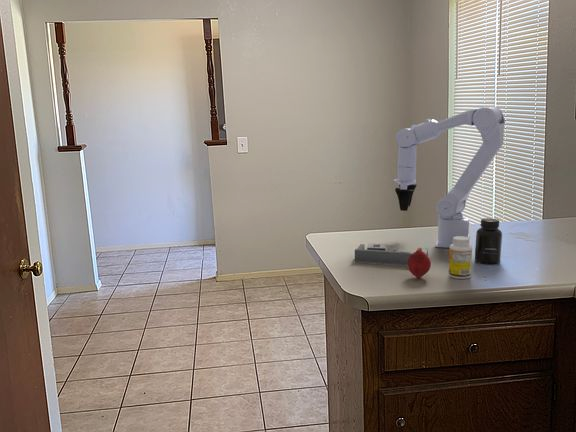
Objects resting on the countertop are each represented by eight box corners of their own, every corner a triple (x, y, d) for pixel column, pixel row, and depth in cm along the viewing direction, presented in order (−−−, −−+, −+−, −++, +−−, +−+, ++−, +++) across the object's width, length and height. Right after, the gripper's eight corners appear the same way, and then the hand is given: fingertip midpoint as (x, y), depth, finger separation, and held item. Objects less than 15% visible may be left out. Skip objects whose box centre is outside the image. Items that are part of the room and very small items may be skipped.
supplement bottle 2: (487, 266, 153) (490, 223, 151) (469, 260, 159) (471, 219, 157) (505, 262, 156) (508, 220, 154) (487, 257, 162) (489, 216, 160)
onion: (430, 282, 141) (431, 251, 140) (407, 280, 142) (407, 250, 141) (429, 275, 147) (430, 245, 145) (407, 274, 148) (407, 244, 146)
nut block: (386, 257, 165) (386, 243, 164) (384, 261, 160) (384, 247, 159) (368, 256, 166) (368, 242, 165) (367, 261, 161) (367, 247, 160)
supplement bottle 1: (454, 271, 149) (455, 234, 147) (474, 275, 145) (476, 237, 143) (444, 277, 145) (446, 238, 143) (465, 281, 141) (467, 241, 139)
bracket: (427, 258, 162) (428, 246, 161) (425, 267, 153) (425, 255, 152) (360, 253, 168) (360, 242, 167) (354, 262, 159) (354, 250, 158)
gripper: (397, 163, 187) (395, 203, 190) (391, 168, 174) (389, 211, 177) (418, 164, 185) (417, 204, 188) (414, 169, 172) (412, 213, 175)
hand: (405, 208), depth 182 cm, fingers open, 7 cm apart
